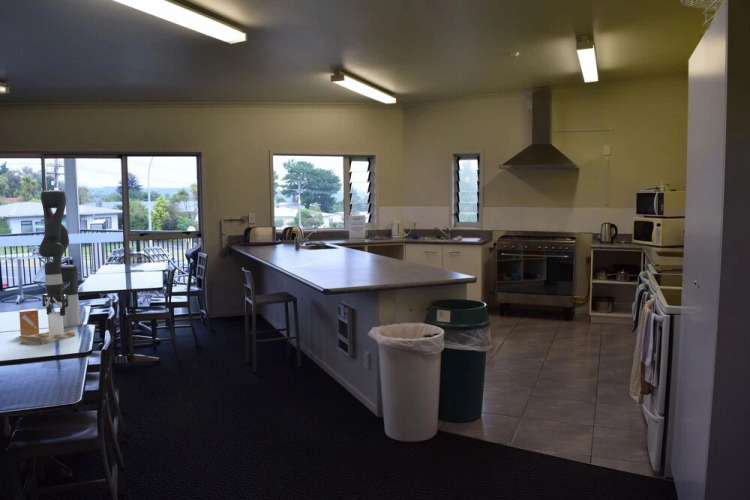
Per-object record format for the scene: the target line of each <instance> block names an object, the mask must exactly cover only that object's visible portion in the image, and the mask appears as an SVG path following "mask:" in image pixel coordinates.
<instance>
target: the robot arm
mask: <svg viewBox="0 0 750 500" xmlns="http://www.w3.org/2000/svg"><path fill="white" fill-rule="evenodd" d="M66 196H67V195H66V193H65V191H64V190H61V189H60V190H59V189H54V190H52V189H51V190H50V189H49V190H43V191H41V193H40V200H41V201H40V202H41V206H42V209H43V213H44V216H45V221H46V223H45V225H44V235H43V238H42V241H41V243H40V244H39V248H38V253H39V256H41V257H42V258H52V261H48V262H45V263H44V287H45V294H44V293H43V294H42V295H41V297H42V298H41V300H42V302H41V303H42V307H44V308H45V309H46V315H47V316H48V315H49V313H51V312H53V310H52V305H53V304H54V305H55V304H56V305H57V306H58V307H59V312H60V316H63V327H64V328H70V327H71V328H72V327H77V326H80V325H82V314H81V311H82V310H81V307H80V303H79V281H78V280H79V278H78V277H79V275H78V273H79V272H78V267H77V266H76V265H74V264H66V265H65V264H64V265H63V264H62V258H63V255H64V253H65V252H66V251H67V248H68V246H69V244H70V238H69V233H68V230H67V228H66V227H65V225H64V224H63V223H62V222H63V219H64V214H65V210H66V205H67V197H66ZM52 209H56V210H55V212H53V210H52ZM63 283H69V285H67V286H66V287H63V286H64V285H63Z"/></svg>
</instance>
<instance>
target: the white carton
mask: <svg viewBox="0 0 750 500" xmlns="http://www.w3.org/2000/svg"><path fill="white" fill-rule="evenodd" d="M47 325H48V331H49V336H53V335H57V334H61V333H65V332H64V331H65V330H64V329H65V327H63V316H60V311H52V312H51V313H49V315H47Z"/></svg>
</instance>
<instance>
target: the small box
mask: <svg viewBox="0 0 750 500" xmlns="http://www.w3.org/2000/svg"><path fill="white" fill-rule="evenodd" d="M18 314H19V315H18V316H19V330H20V331H19V333H20V336H22V335H23V336H31V335H35V334H39V333H40V327H39V326H40V324H39V323H40V322H39V311H38V308H29V309H20V310H18Z"/></svg>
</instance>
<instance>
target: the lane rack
mask: <svg viewBox="0 0 750 500" xmlns="http://www.w3.org/2000/svg"><path fill="white" fill-rule="evenodd" d="M71 337H75V330H69V331H66V332H64V333H61V334H57V335H53V336H49V330H48V331H45V332H41V333H40V332H39V334H35V335H31V336H23V335H22V336H21V335H19V339H20V344H26V345H38V346H39V345H44V344H45V345H46V344H47V343H53V342H57V341H60V340H64V339H66V338H67V339H68V338H71Z"/></svg>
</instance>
